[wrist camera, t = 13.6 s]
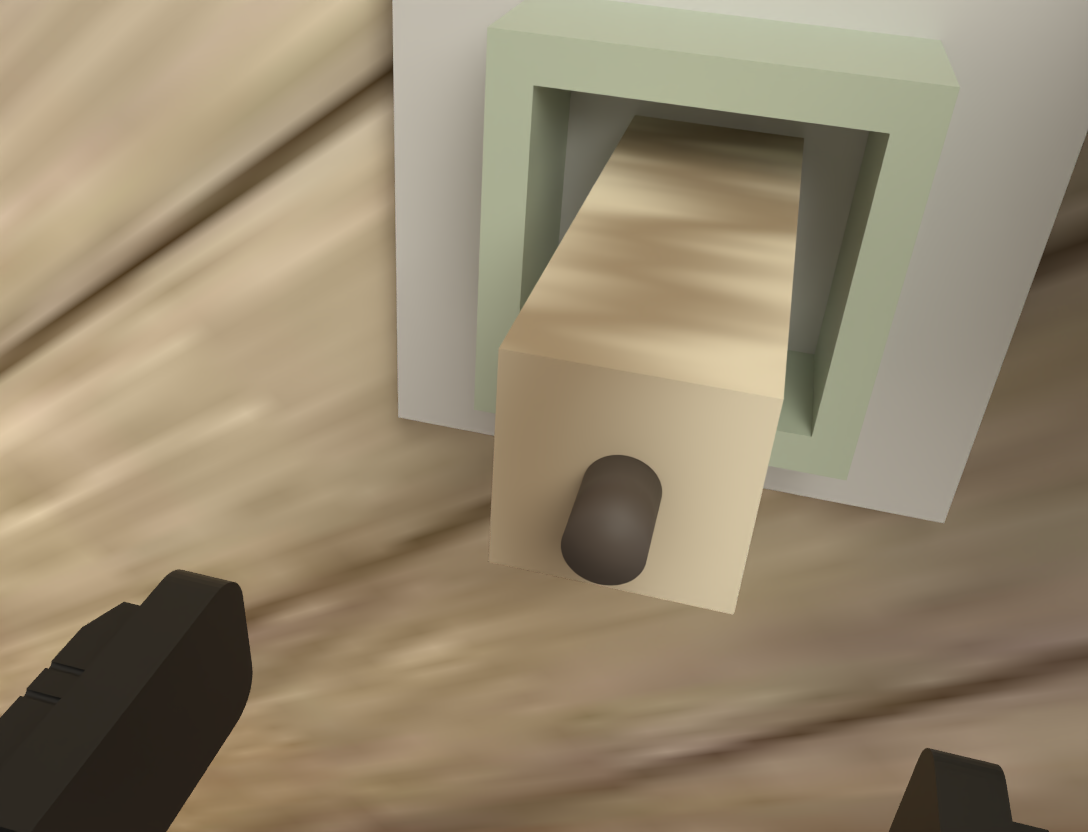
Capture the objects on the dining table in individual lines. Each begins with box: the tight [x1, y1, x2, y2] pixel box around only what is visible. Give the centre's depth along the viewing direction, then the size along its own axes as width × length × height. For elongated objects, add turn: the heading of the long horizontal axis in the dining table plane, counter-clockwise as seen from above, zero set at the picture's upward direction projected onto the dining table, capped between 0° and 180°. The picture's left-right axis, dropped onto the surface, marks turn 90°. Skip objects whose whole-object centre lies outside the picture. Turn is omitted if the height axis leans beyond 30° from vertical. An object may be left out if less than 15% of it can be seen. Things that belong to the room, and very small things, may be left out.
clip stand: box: [392, 0, 1088, 523], centre depth 24 cm, size 16×16×5 cm
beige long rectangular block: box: [489, 115, 804, 615], centre depth 19 cm, size 4×4×14 cm
